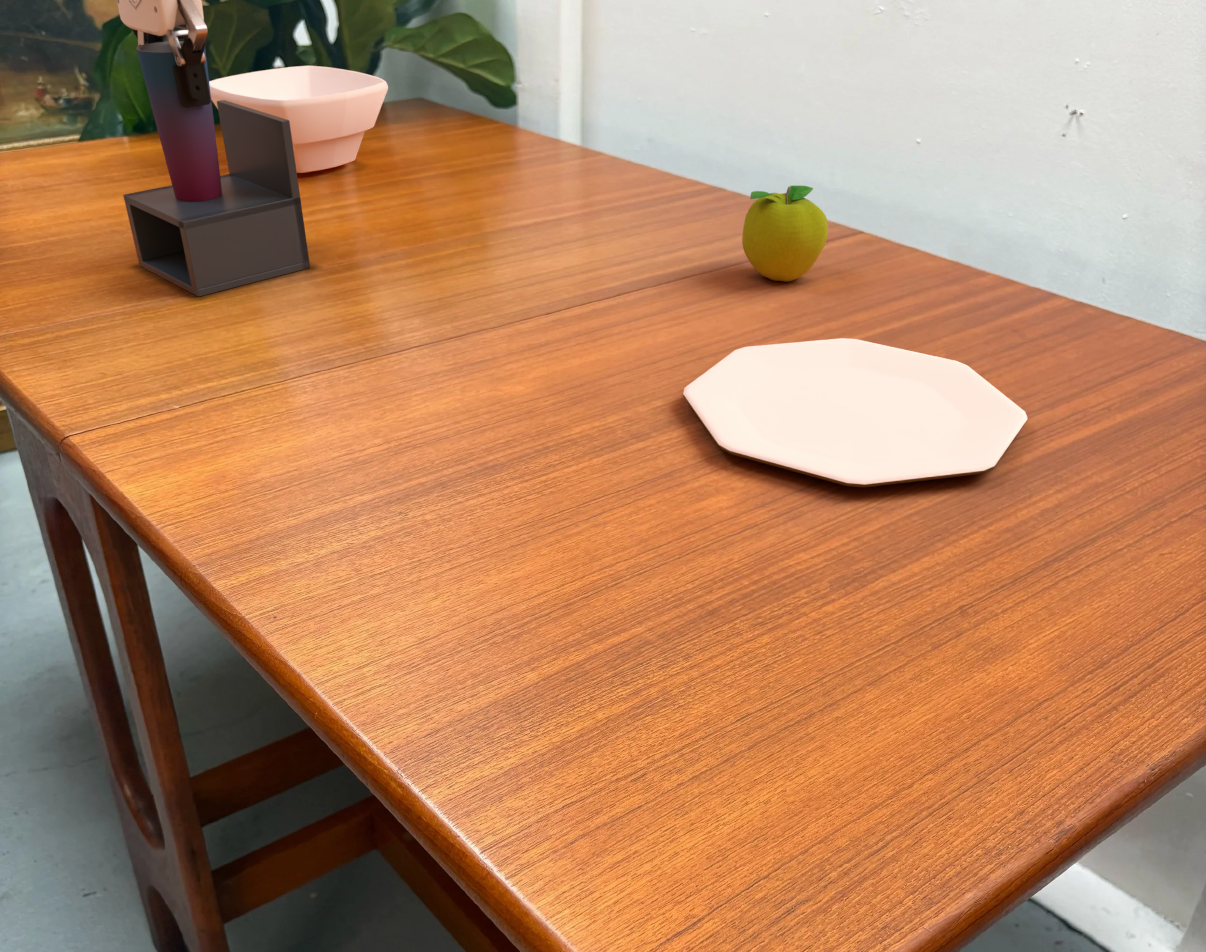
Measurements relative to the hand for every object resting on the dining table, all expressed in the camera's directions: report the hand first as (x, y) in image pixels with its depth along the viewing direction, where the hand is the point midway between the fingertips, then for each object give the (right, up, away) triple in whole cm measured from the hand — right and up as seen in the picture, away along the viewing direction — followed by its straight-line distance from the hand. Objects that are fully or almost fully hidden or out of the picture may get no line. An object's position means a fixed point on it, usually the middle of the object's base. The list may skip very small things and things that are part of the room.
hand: (180, 98), depth 120 cm
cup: (0, -8, +6) cm, 10 cm away
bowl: (+1, +11, +47) cm, 48 cm away
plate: (+66, -37, -21) cm, 79 cm away
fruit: (+65, -17, +9) cm, 68 cm away
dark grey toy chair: (+1, -15, +10) cm, 18 cm away
